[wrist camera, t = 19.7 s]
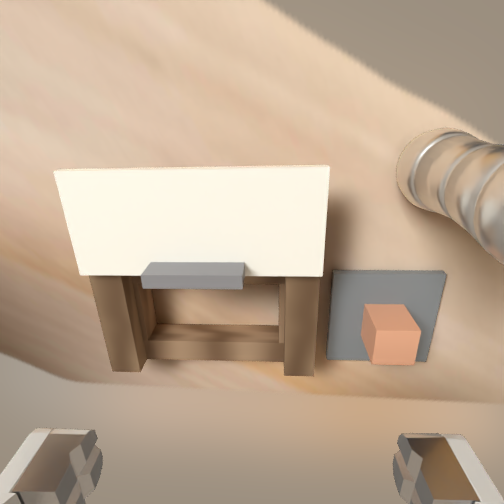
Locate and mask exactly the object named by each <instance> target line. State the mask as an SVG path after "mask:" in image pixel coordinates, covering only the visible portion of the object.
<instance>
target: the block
mask: <svg viewBox="0 0 504 504" xmlns="http://www.w3.org/2000/svg"><path fill="white" fill-rule="evenodd" d="M420 335H421V330H420V328H419V327H418V325H417V324H416V322H415V321H414V319H413V318H412V316H411V315H410V313H409V311H408V310H407V308H406V307H405V305H404V304H364V312H363V320H362V329H361V337H362V340H363V343H364V345H365V348H366V351H367V353H368V356H369V358H370V361H371V364H381V365H414V363H415V359H416V354H417V349H418V344H419V340H420Z"/></svg>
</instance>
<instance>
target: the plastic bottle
mask: <svg viewBox="0 0 504 504" xmlns="http://www.w3.org/2000/svg"><path fill="white" fill-rule="evenodd" d="M396 178H397V183H398V185H399V188H400V190H401V191H402V193H403V194H404V196H405V197H406V198H407V200H408V201H410V202H411V203H412V204H413V205H415V206H417V207H419V208H422V209H425V210H428V211H431V212H436V213H440V214H442V215H444V216H446V217H449V218H451V219H452V220H453V221H455V222H456V223H457V224H459V225H460V226H461V227H463V228H464V229H465V230H466V231H467V232H468V233H469V234H470V235H471V236H472V237H473V238H474V239H475V240H476V241H477V242H478V243H479V244H480V245H481V246H482V247H483V248H484V250H485V251H487V252H488V253H489V254H490V255H491V256H492V257H494V258H495V259H496V260H497V261H498V262H500V263H501V264H503V265H504V145H502V144H492V143H489V142H486V141H482V140H479V139H478V138H476V137H474V136H473V135H471V134H469V133H467V132H464V131H462V130H458V129H455V128H440V129H435V130H431V131H428V132H425V133H423V134H421V135H419V136H417V137H416V138H414V139H413V140H412V141H411V142H410V143H409V144H408V145H407V146H406V147H405V148H404V150H403V152H402V153H401V155H400V157H399V160H398V162H397V168H396Z"/></svg>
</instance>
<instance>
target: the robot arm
mask: <svg viewBox="0 0 504 504" xmlns="http://www.w3.org/2000/svg"><path fill="white" fill-rule="evenodd" d="M96 441H97V435H96V433H95V430H81V429H57V428H36V429H35V430H34V431H32V432H31V433H30V434H29V435H28V437H27V438H26V439H25V441H24V442H23V444H22V445H21V447H20V448H19V449H18V451H17V452H16V454H15V455H14V456H13V458H12V459H11V461H10V462H9V463H8V465H7V466H6V468H5V469H4V470H3V472H2V473H1V475H0V504H86V503H85V498H86V497H87V496H88V495H89V494H90V493H91V492H93V491H94V490H95V488H96V485H97V483H98V480H99V478H100V474H101V469H102V463H103V462H102V459H103V458H102V457H103V456H102V452H101V450H100V449H99V448H98V447H97V446H96V445H95V443H96ZM397 444H398V446H399V449H400V450H399V451H398V452H397V453H396V454H395V455H394V459H393V474H394V479H395V483H396V486H397V489H398V492H399V495H400V496H401V497H402V498H403V499H404V500H405V501H406V502H407V503H408V504H504V499H503V498H502V496H501V494H500V493H499V491H498V489H497V488H496V487H495V485H494V483H493V482H492V480H491V478H490V477H489V475H488V473H487V472H486V470H485V469H484V467H483V465H482V464H481V462H480V461H479V459H478V457H477V456H476V454H475V453H474V451H473V449H472V448H471V446H470V445H469V443H468V441H467V440H466V438H465V437H463V436H462V435H461V434H438V433H436V434H434V433H431V434H429V433H426V434H425V433H424V434H423V433H421V434H401V435H400V436H399V438H398V442H397Z"/></svg>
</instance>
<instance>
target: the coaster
mask: <svg viewBox="0 0 504 504" xmlns="http://www.w3.org/2000/svg"><path fill="white" fill-rule="evenodd" d="M446 275H447V274H446V273H445V272H444V271H390V270H333V272H332V285H331V297H330V310H329V322H328V335H327V347H326V358H327V360H370V358H369V356H368V353H367V351H366V348H365V345H364V343H363V340H362V337H361V329H362V320H363V312H364V304H404V305H405V307H406V308H407V310H408V311H409V313H410V315H411V316H412V318H413V319H414V321H415V322H416V324H417V325H418V327H419V328H420V330H421V335H420V340H419V344H418V349H417V354H416V359H415V361H421V362H426V360H427V356H428V352H429V347H430V343H431V339H432V334H433V330H434V326H435V322H436V317H437V313H438V309H439V305H440V300H441V296H442V292H443V287H444V283H445V279H446Z"/></svg>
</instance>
